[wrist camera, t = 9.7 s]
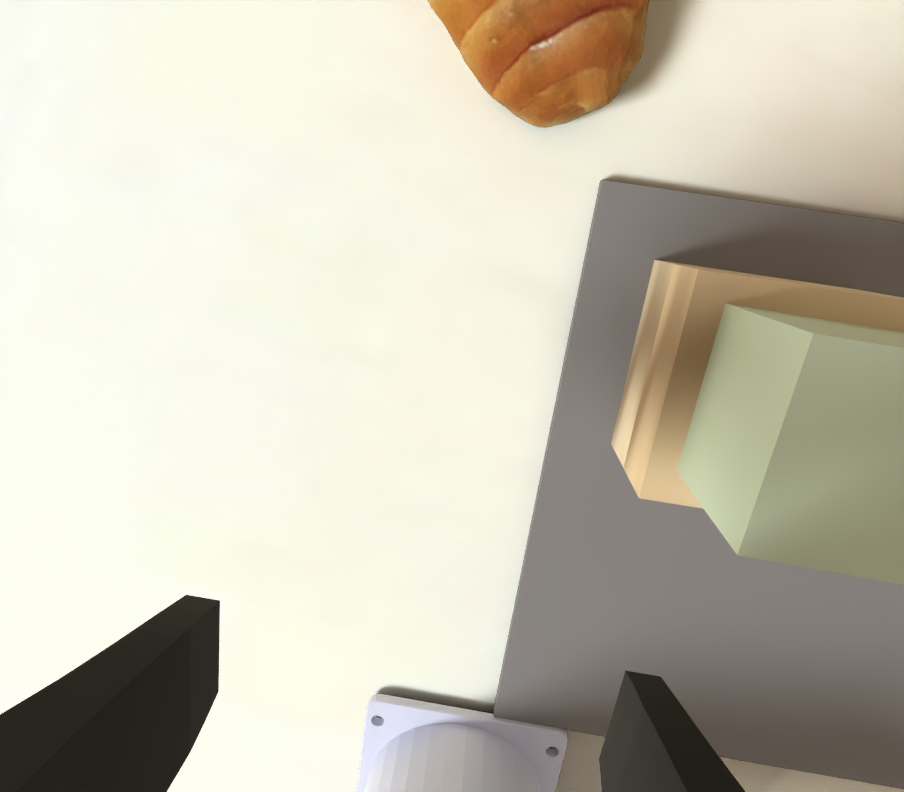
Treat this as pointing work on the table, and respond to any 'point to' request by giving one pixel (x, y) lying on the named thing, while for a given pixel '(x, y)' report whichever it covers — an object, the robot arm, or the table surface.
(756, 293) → the tower top slab
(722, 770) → the robot arm
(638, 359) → the tower base slab
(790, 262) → the mat
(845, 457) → the green block
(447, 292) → the table surface
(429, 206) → the table surface
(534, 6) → the pastry
